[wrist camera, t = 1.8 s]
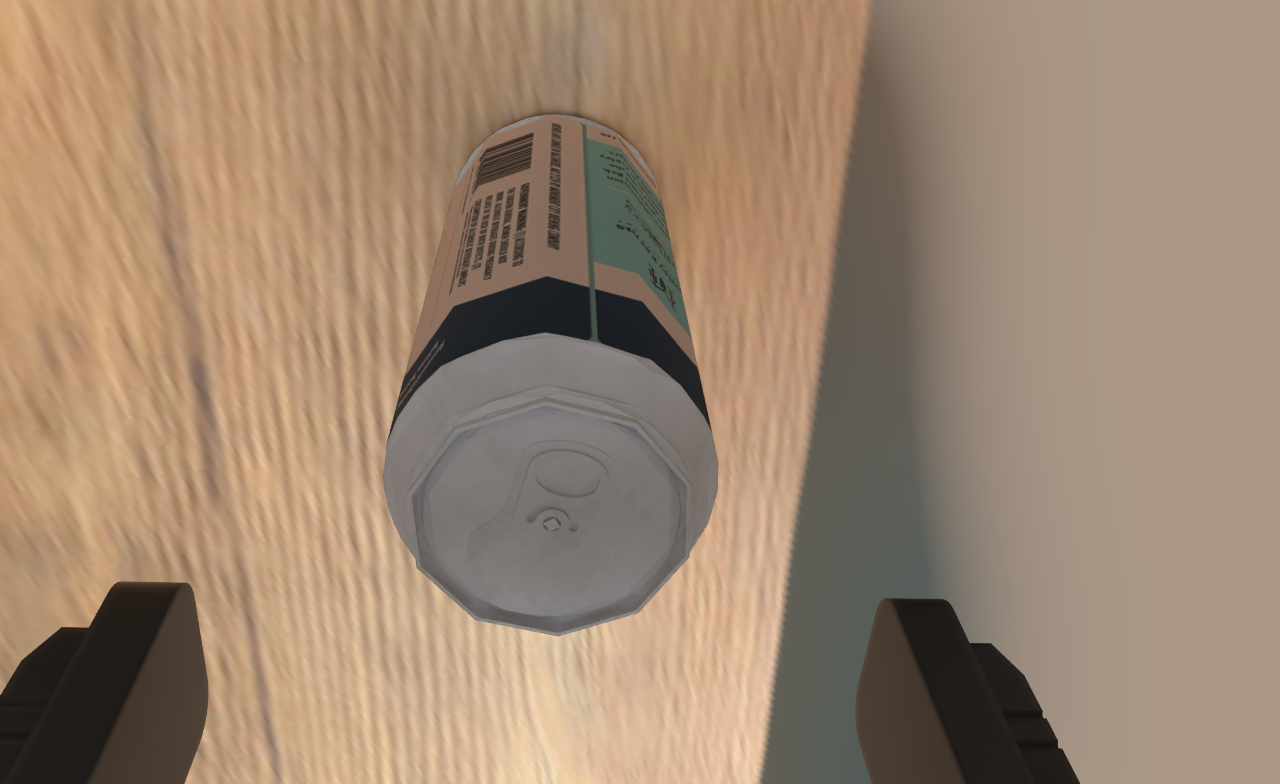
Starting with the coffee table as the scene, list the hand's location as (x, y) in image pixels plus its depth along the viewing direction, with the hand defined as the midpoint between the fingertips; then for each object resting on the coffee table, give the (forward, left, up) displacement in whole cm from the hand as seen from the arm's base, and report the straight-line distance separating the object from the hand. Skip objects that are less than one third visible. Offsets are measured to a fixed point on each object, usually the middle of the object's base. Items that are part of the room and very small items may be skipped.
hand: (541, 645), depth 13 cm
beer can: (0, 0, -14) cm, 14 cm away
